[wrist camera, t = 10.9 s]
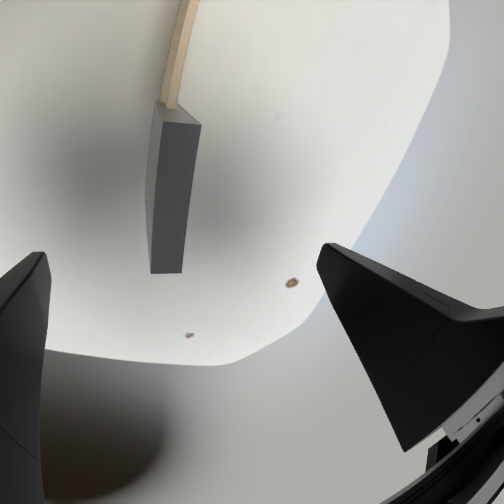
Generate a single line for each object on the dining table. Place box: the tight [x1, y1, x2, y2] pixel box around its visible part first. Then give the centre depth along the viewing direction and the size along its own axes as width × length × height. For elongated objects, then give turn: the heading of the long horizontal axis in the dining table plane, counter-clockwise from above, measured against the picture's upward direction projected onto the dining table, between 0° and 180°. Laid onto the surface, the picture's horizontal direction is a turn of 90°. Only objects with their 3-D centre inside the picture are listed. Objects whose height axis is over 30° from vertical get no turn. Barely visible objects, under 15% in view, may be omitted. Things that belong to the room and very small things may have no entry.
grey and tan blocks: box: [145, 0, 201, 274], centre depth 12 cm, size 15×1×11 cm, turn 168°
